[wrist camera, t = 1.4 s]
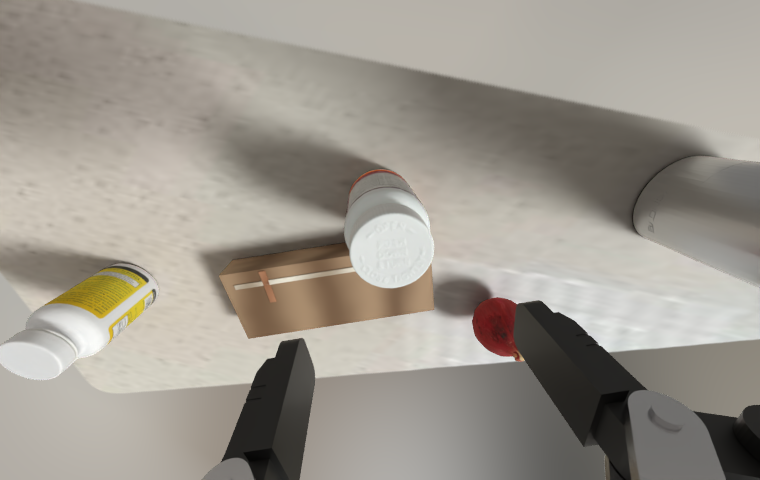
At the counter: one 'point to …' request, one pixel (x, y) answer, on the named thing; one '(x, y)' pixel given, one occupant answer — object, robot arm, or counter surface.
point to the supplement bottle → (79, 322)
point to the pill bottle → (387, 230)
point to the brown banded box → (314, 292)
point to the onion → (496, 326)
